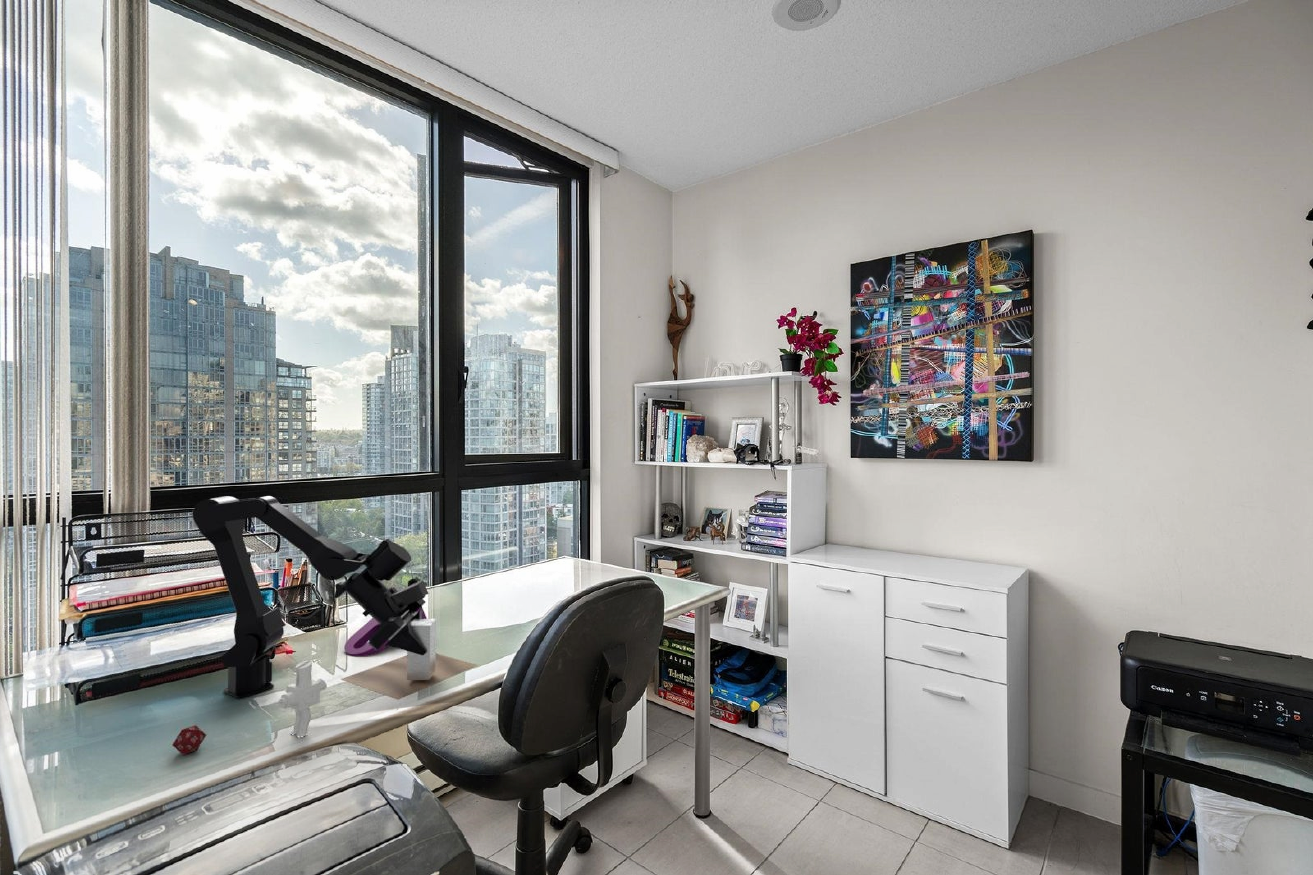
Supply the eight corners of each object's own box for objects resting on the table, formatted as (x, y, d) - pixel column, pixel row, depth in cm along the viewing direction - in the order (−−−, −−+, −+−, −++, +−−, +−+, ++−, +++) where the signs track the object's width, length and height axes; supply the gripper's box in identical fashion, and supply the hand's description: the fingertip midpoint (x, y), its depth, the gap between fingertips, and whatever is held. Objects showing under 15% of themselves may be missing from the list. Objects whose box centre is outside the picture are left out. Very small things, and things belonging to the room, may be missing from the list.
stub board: (397, 705, 113) (398, 682, 113) (340, 684, 122) (341, 663, 122) (477, 670, 130) (477, 650, 130) (422, 654, 139) (422, 635, 139)
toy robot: (331, 725, 105) (332, 657, 105) (288, 745, 98) (289, 672, 98) (316, 720, 107) (317, 653, 107) (273, 740, 100) (274, 668, 100)
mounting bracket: (377, 685, 136) (432, 630, 151) (363, 657, 133) (421, 604, 148) (349, 677, 140) (405, 624, 155) (335, 650, 137) (394, 599, 152)
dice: (209, 751, 96) (209, 726, 96) (174, 762, 93) (174, 736, 93) (203, 743, 99) (204, 718, 99) (169, 753, 95) (169, 728, 95)
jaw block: (406, 680, 120) (407, 625, 120) (413, 671, 124) (414, 619, 124) (429, 679, 120) (430, 625, 120) (435, 671, 125) (436, 618, 125)
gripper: (387, 579, 113) (446, 636, 114) (416, 559, 131) (467, 608, 132) (343, 621, 112) (403, 678, 113) (378, 595, 130) (429, 644, 132)
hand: (428, 649), depth 123 cm, fingers closed on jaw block, 4 cm apart
